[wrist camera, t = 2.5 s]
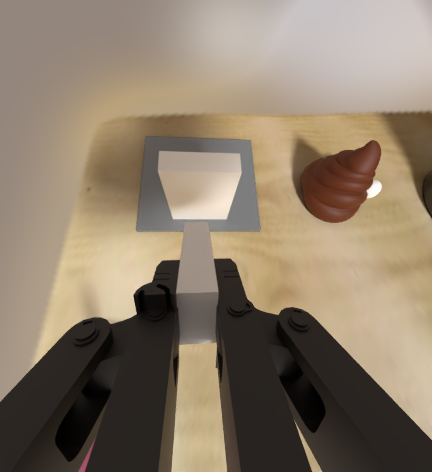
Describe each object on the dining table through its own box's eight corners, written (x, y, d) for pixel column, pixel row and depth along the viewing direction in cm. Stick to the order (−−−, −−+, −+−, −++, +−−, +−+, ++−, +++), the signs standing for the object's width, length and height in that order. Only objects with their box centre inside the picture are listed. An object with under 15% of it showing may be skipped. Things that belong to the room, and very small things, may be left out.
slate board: (249, 143, 32) (250, 140, 31) (259, 231, 27) (260, 229, 26) (146, 139, 30) (145, 136, 30) (137, 231, 25) (136, 230, 25)
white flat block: (225, 204, 27) (239, 151, 18) (226, 219, 26) (241, 172, 17) (173, 204, 26) (159, 149, 17) (172, 219, 26) (157, 170, 16)
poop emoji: (293, 165, 31) (330, 110, 22) (344, 167, 32) (400, 115, 23) (303, 225, 28) (352, 188, 19) (360, 225, 28) (432, 191, 20)
